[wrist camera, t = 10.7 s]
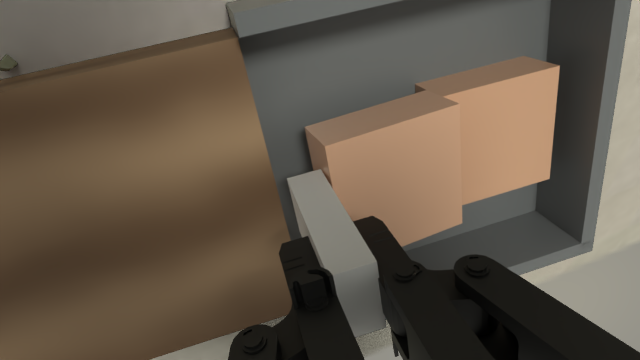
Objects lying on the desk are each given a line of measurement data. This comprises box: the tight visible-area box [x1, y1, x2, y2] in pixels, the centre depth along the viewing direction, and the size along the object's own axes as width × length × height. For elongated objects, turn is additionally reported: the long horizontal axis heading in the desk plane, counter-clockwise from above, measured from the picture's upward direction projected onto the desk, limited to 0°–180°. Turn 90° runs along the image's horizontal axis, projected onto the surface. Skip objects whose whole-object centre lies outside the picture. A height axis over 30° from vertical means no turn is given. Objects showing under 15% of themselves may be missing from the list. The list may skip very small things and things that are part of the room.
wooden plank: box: [0, 28, 292, 360], centre depth 19 cm, size 14×20×3 cm
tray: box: [226, 0, 632, 320], centre depth 21 cm, size 16×16×4 cm
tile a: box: [304, 90, 462, 247], centre depth 20 cm, size 6×6×2 cm
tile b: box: [415, 56, 560, 205], centre depth 22 cm, size 6×6×2 cm
